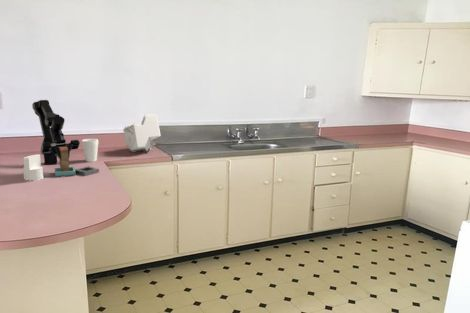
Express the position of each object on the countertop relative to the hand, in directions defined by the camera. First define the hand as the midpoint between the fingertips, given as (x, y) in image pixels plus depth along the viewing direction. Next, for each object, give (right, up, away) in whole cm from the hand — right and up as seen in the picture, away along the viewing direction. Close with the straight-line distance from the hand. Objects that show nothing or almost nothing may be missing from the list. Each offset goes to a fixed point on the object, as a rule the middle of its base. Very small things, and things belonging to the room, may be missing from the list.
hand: (64, 158), depth 206 cm
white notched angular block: (+26, +5, +64) cm, 69 cm away
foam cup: (+1, -2, +34) cm, 34 cm away
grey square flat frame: (+9, -8, +7) cm, 14 cm away
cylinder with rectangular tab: (-13, -10, -7) cm, 18 cm away
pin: (-1, -7, +3) cm, 7 cm away
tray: (-1, -8, +3) cm, 9 cm away
